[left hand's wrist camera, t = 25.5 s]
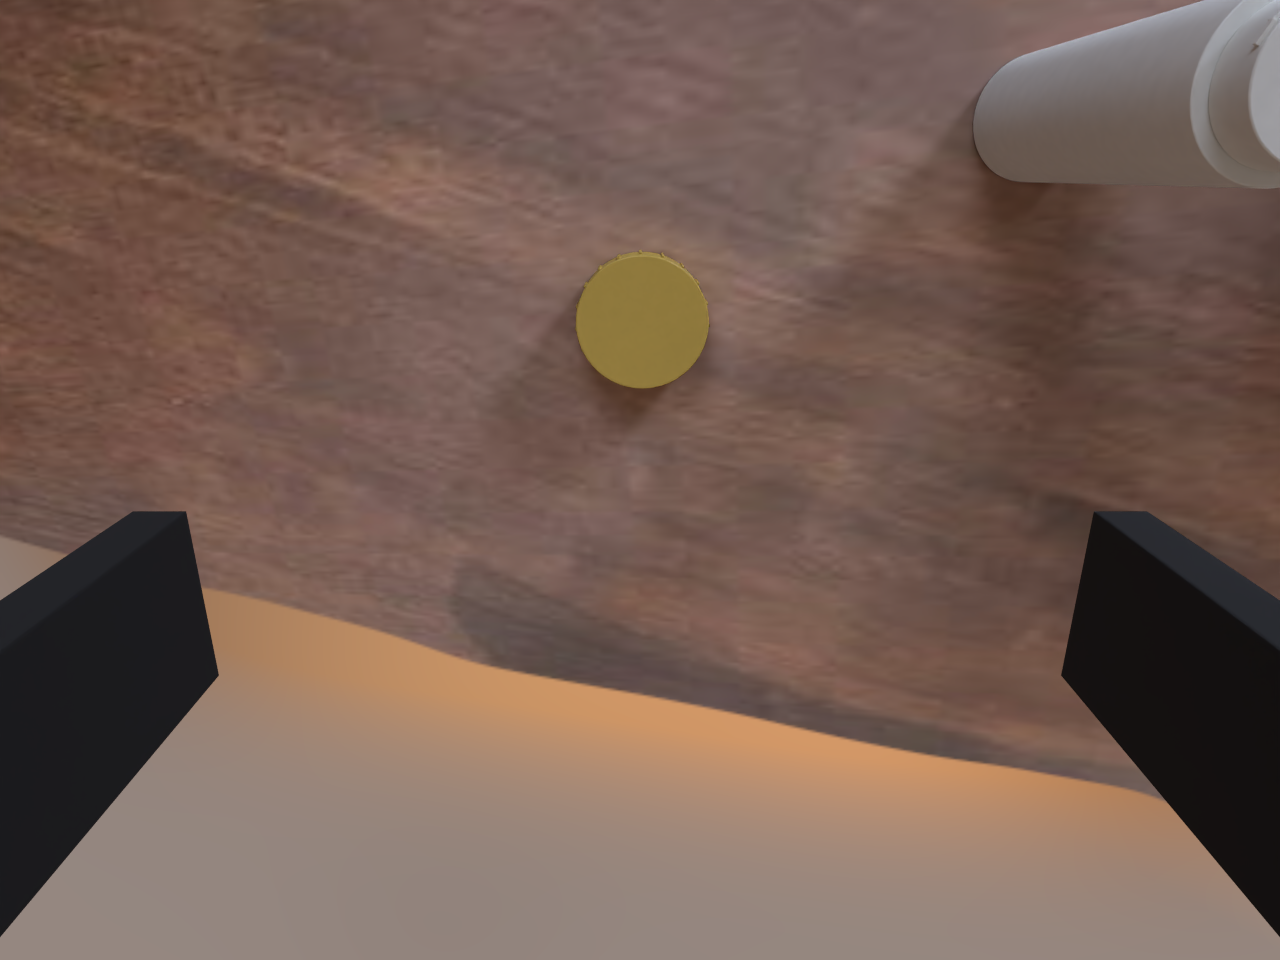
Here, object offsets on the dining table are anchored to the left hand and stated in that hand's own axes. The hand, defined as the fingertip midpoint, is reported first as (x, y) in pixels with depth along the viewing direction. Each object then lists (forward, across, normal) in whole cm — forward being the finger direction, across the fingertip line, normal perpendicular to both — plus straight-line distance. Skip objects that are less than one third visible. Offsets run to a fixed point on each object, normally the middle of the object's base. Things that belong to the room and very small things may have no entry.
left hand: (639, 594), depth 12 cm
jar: (+27, +16, +8) cm, 32 cm away
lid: (+26, 0, 0) cm, 26 cm away
